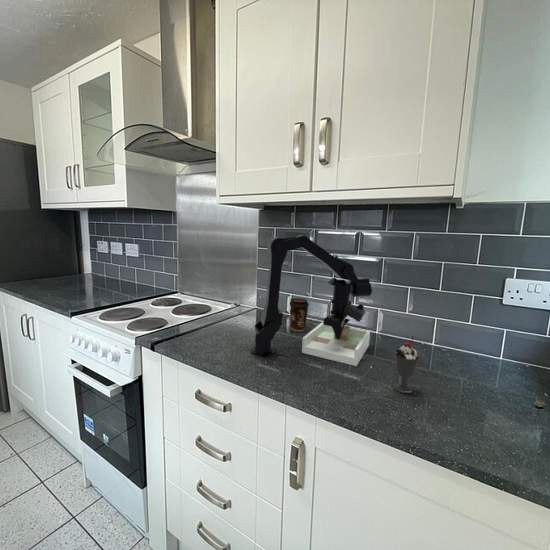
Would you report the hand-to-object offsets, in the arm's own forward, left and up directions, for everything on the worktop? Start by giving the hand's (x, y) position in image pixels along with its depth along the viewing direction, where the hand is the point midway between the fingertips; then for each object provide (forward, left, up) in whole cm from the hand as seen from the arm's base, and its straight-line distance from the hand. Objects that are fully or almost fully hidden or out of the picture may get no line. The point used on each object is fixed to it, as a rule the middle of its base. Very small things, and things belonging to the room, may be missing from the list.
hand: (338, 338), depth 108 cm
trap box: (-1, 0, -4) cm, 4 cm away
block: (+4, 0, -1) cm, 4 cm away
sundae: (-18, -24, -4) cm, 30 cm away
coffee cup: (+11, +21, -4) cm, 24 cm away
